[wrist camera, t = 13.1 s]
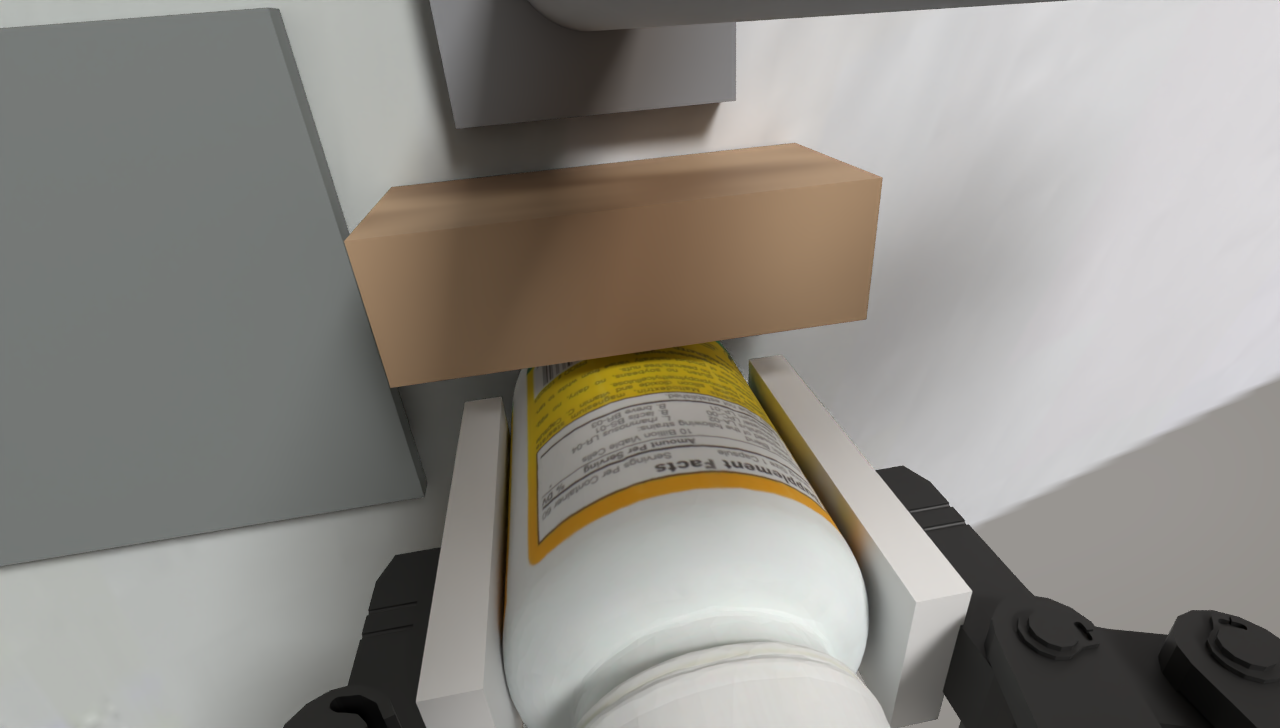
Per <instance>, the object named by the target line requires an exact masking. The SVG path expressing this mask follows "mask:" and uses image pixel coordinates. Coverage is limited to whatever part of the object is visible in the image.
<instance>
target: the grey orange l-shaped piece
mask: <svg viewBox="0 0 1280 728" xmlns="http://www.w3.org/2000/svg"><path fill="white" fill-rule="evenodd" d="M528 1H529V2H530V4H531V5H532V6H533V7H534V8H535V9H536V10H537V11H538V12H539V13H541V14H542V15H543V16H544V17H546V18H547V19H549V20H550V21H552V22H554V23H556V24H558V25H560V26H562V27H565V28H568V29H572V30H578V31H601V30H617V29H632V28H648V27H663V26H679V25H694V24H710V23H725V22H741V21H756V20H772V19H787V18H803V17H818V16H834V15H849V14H865V13H880V12H896V11H911V10H927V9H942V8H958V7H973V6H989V5H1004V4H1020V3H1035V2H1051V1H1066V0H528Z"/></svg>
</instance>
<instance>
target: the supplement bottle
mask: <svg viewBox="0 0 1280 728" xmlns="http://www.w3.org/2000/svg"><path fill="white" fill-rule="evenodd" d="M868 630H869V608H868V596H867V591H866V587H865V582H864V579H863V576H862V573H861V571H860V568H859V566H858V563H857V561H856V559H855V557H854V555H853V553H852V551H851V549H850V547H849V546H848V544H847V542H846V541H845V539H844V538H843V536H842V534H841V533H840V531H839V529H838V528H837V526H836V525H835V523H834V521H833V520H832V518H831V517H830V515H829V514H828V512H827V510H826V509H825V507H824V506H823V504H822V503H821V501H820V499H819V498H818V496H817V494H816V493H815V491H814V489H813V488H812V486H811V485H810V483H809V482H808V480H807V479H806V477H805V476H804V474H803V472H802V471H801V469H800V467H799V466H798V464H797V463H796V461H795V459H794V458H793V456H792V454H791V453H790V451H789V449H788V448H787V446H786V445H785V443H784V442H783V440H782V438H781V437H780V435H779V434H778V432H777V430H776V429H775V427H774V426H773V424H772V422H771V421H770V419H769V418H768V416H767V414H766V413H765V411H764V410H763V408H762V406H761V405H760V403H759V402H758V400H757V398H756V397H755V395H754V393H753V392H752V390H751V389H750V387H749V386H748V384H747V383H746V381H745V379H744V378H743V376H742V374H741V372H740V371H739V369H738V368H737V366H736V365H735V363H734V361H733V360H732V358H731V356H730V355H729V353H728V352H727V351H726V349H725V348H724V347H723V345H722V344H721V342H720V341H712V342H705V343H699V344H692V345H685V346H678V347H671V348H664V349H657V350H650V351H643V352H636V353H629V354H622V355H615V356H608V357H601V358H595V359H588V360H581V361H574V362H567V363H560V364H553V365H546V366H539V367H532V368H525V369H521V371H520V374H519V377H518V379H517V382H516V386H515V391H514V395H513V404H512V416H511V443H510V475H509V499H508V530H507V553H506V575H505V595H504V618H503V649H502V651H503V663H504V672H505V677H506V682H507V686H508V689H509V692H510V695H511V699H512V701H513V703H514V705H515V707H516V709H517V711H518V713H519V715H520V717H521V719H522V720H523V722H524V723H525V725H526V726H527V728H891V727H890V725H889V723H888V721H887V719H886V716H885V714H884V711H883V709H882V707H881V705H880V704H879V702H878V700H877V699H876V697H875V696H874V695H873V694H872V693H871V691H870V690H869V689H868V688H867V687H866V686H865V685H864V684H863V683H862V681H861V680H860V679H859V678H858V676H857V675H856V673H857V671H858V668H859V666H860V664H861V661H862V658H863V655H864V652H865V647H866V643H867V638H868Z"/></svg>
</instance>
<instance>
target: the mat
mask: <svg viewBox="0 0 1280 728" xmlns="http://www.w3.org/2000/svg"><path fill="white" fill-rule="evenodd" d="M349 235H350V234H349V231H348V228H347V225H346V222H345V218H344V215H343V212H342V209H341V206H340V202H339V199H338V196H337V193H336V190H335V186H334V183H333V180H332V177H331V174H330V170H329V167H328V164H327V161H326V158H325V154H324V151H323V148H322V145H321V142H320V138H319V135H318V132H317V129H316V126H315V122H314V119H313V116H312V113H311V110H310V106H309V103H308V100H307V97H306V94H305V90H304V87H303V84H302V81H301V78H300V74H299V71H298V68H297V65H296V62H295V58H294V55H293V52H292V49H291V46H290V42H289V39H288V36H287V33H286V30H285V26H284V23H283V20H282V17H281V14H280V10H279V9H275V8H257V9H244V10H231V11H218V12H206V13H193V14H180V15H167V16H154V17H141V18H128V19H115V20H102V21H89V22H76V23H63V24H50V25H37V26H24V27H11V28H0V566H5V565H12V564H18V563H24V562H30V561H36V560H42V559H48V558H54V557H60V556H66V555H73V554H79V553H85V552H91V551H97V550H103V549H109V548H115V547H121V546H127V545H134V544H140V543H146V542H152V541H158V540H164V539H170V538H176V537H182V536H188V535H195V534H201V533H207V532H213V531H219V530H225V529H231V528H237V527H243V526H249V525H256V524H262V523H268V522H274V521H280V520H286V519H292V518H298V517H304V516H310V515H317V514H323V513H329V512H335V511H341V510H347V509H353V508H359V507H365V506H371V505H377V504H384V503H390V502H396V501H402V500H408V499H414V498H420V497H424V496H425V491H426V487H427V481H426V478H425V475H424V471H423V468H422V465H421V462H420V459H419V455H418V452H417V449H416V446H415V443H414V439H413V436H412V433H411V430H410V427H409V423H408V420H407V417H406V414H405V411H404V407H403V404H402V401H401V398H400V395H399V391H398V388H397V387H393V388H390V385H389V381H388V378H387V375H386V372H385V369H384V366H383V363H382V359H381V356H380V353H379V350H378V347H377V344H376V341H375V337H374V334H373V331H372V328H371V325H370V322H369V319H368V315H367V312H366V309H365V306H364V303H363V300H362V297H361V294H360V290H359V287H358V284H357V281H356V278H355V275H354V272H353V268H352V265H351V262H350V259H349V256H348V253H347V250H346V246H345V243H344V241H345V239H346V238H347V237H348V236H349Z"/></svg>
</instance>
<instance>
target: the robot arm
mask: <svg viewBox="0 0 1280 728" xmlns="http://www.w3.org/2000/svg"><path fill="white" fill-rule="evenodd" d="M749 387H750V389H751V390H752V392H753V393H754V395H755V397H756V398H757V400H758V402H759V403H760V405H761V406H762V408H763V410H764V411H765V413H766V414H767V416H768V418H769V419H770V421H771V422H772V424H773V426H774V427H775V429H776V430H777V432H778V434H779V435H780V437H781V438H782V440H783V442H784V443H785V445H786V446H787V448H788V449H789V451H790V453H791V454H792V456H793V458H794V459H795V461H796V463H797V464H798V466H799V467H800V469H801V471H802V472H803V474H804V476H805V477H806V479H807V480H808V482H809V483H810V485H811V486H812V488H813V489H814V491H815V493H816V494H817V496H818V498H819V499H820V501H821V503H822V504H823V506H824V507H825V509H826V510H827V512H828V514H829V515H830V517H831V518H832V520H833V521H834V523H835V525H836V526H837V528H838V529H839V531H840V533H841V534H842V536H843V538H844V539H845V541H846V542H847V544H848V546H849V547H850V549H851V551H852V553H853V555H854V557H855V559H856V561H857V563H858V566H859V568H860V571H861V573H862V576H863V579H864V582H865V587H866V591H867V596H868V608H869V630H868V638H867V643H866V647H865V652H864V655H863V658H862V661H861V664H860V666H859V668H858V671H859V673H860V675H861V676H862V678H863V680H864V682H865V684H866V686H867V688H868V689H869V690H870V691H871V693H872V694H873V695H874V696H875V697H876V699H877V700H878V702H879V704H880V705H881V707H882V709H883V711H884V714H885V716H886V719H887V721H888V723H889V725H890V727H891V728H900V727H904V726H909V725H913V724H917V723H922V722H926V721H931V720H936V719H938V716H939V712H940V709H941V705H942V701H943V698H944V695H945V696H946V698H947V699H948V701H949V703H950V704H951V706H952V707H953V709H954V710H955V712H956V713H957V715H958V717H959V718H960V720H961V722H960V725H959V728H1280V639H1279V638H1278V637H1276V636H1275V635H1273V634H1272V633H1271V632H1269V631H1268V630H1266V629H1264V628H1262V627H1260V626H1257V625H1255V624H1253V623H1251V622H1249V621H1247V620H1244V619H1242V618H1240V617H1237V616H1233V615H1229V614H1225V613H1221V612H1217V611H1213V610H1208V611H1207V610H1192V611H1189V612H1187V613H1185V614H1183V615H1180V616H1178V617H1177V619H1176V621H1175V623H1174V625H1173V626H1172V628H1171V630H1170V632H1169V634H1168V635H1163V634H1153V633H1144V632H1133V631H1122V630H1113V629H1105V628H1100V627H1095V626H1094V625H1093V623H1092V622H1091V621H1089V620H1088V619H1086V618H1085V617H1084V616H1082V615H1081V614H1079V613H1078V612H1076V611H1075V610H1073V609H1072V608H1070V607H1068V606H1066V605H1063V604H1061V603H1059V602H1056V601H1054V600H1051V599H1049V598H1043V597H1037V596H1034V595H1033V594H1032V593H1031V592H1030V591H1029V590H1028V589H1027V588H1026V587H1025V586H1024V585H1023V584H1022V583H1021V582H1020V581H1019V579H1018V578H1017V577H1016V576H1015V575H1014V574H1013V573H1012V572H1011V571H1010V569H1009V568H1008V567H1007V566H1006V565H1005V564H1004V563H1003V562H1002V561H1001V560H1000V558H999V557H997V555H996V554H995V553H994V552H993V551H992V550H991V548H990V547H989V546H988V545H987V544H986V543H985V542H984V541H983V540H982V539H981V538H980V536H979V535H978V534H977V533H976V532H975V531H974V530H973V529H972V528H971V526H970V525H969V524H968V525H966V524H965V520H964V519H963V518H962V516H961V515H960V514H959V513H958V512H957V511H956V510H955V509H954V508H953V507H950V506H949V502H948V501H947V500H946V499H945V498H944V497H943V496H942V494H941V493H940V492H939V491H938V490H937V489H936V488H935V487H934V486H933V485H932V483H931V482H930V481H928V480H926V479H925V478H923V477H921V476H920V475H918V474H916V473H915V472H913V471H911V470H910V469H908V468H906V467H905V466H898V467H892V468H886V469H880V470H875V469H874V468H873V467H872V466H871V464H870V463H869V462H868V461H867V460H866V458H865V457H864V456H863V455H862V453H861V452H860V451H859V450H858V448H857V447H856V446H855V445H854V443H853V442H852V441H851V440H850V438H849V437H848V436H847V435H846V433H845V432H844V431H843V430H842V428H841V427H840V426H839V425H838V423H837V422H836V421H835V420H834V419H833V417H832V416H831V415H830V414H829V412H828V411H827V410H826V409H825V407H824V406H823V405H822V404H821V402H820V401H819V400H818V399H817V397H816V396H815V395H814V394H813V392H812V391H811V390H810V389H809V387H808V386H807V385H806V384H805V382H804V381H803V380H802V379H801V377H800V376H799V375H798V374H797V373H796V371H795V370H794V369H793V368H792V366H791V365H790V364H789V363H788V361H787V360H786V359H785V358H784V356H783V355H777V356H770V357H764V358H757V359H750V360H749ZM510 443H511V437H510V433H509V428H508V423H507V419H506V414H505V410H504V405H503V400H502V396H501V397H495V398H488V399H481V400H474V401H468V402H465V404H464V410H463V416H462V422H461V428H460V434H459V440H458V447H457V453H456V459H455V465H454V471H453V477H452V483H451V489H450V495H449V502H448V508H447V514H446V520H445V526H444V532H443V538H442V544H441V547H440V548H434V549H429V550H423V551H417V552H411V553H406V554H400V555H395V557H394V558H393V559H392V561H391V562H390V563H389V565H388V566H387V567H386V569H385V570H384V572H383V573H382V574H381V576H380V577H379V578H378V580H377V581H376V584H375V587H374V591H373V595H372V599H371V602H370V606H369V615H368V616H367V617H366V621H365V624H364V628H363V632H362V640H360V643H359V646H358V650H357V654H356V657H355V661H354V665H353V668H352V672H351V676H350V679H349V683H348V686H346V687H342V688H338V689H335V690H331V691H329V692H327V693H325V694H324V695H322V696H320V697H318V698H317V699H315V700H313V701H311V702H310V703H308V704H306V705H305V706H304V707H303V708H302V709H301V710H300V711H299V712H298V713H297V714H296V715H295V716H293V717H292V718H291V719H290V720H289V721H288V722H287V723H286V724H285V725H284V727H283V728H523V720H522V719H521V717H520V715H519V713H518V711H517V709H516V707H515V705H514V703H513V701H512V699H511V695H510V692H509V689H508V686H507V682H506V677H505V672H504V663H503V651H502V649H503V618H504V595H505V575H506V553H507V530H508V499H509V475H510Z"/></svg>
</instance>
